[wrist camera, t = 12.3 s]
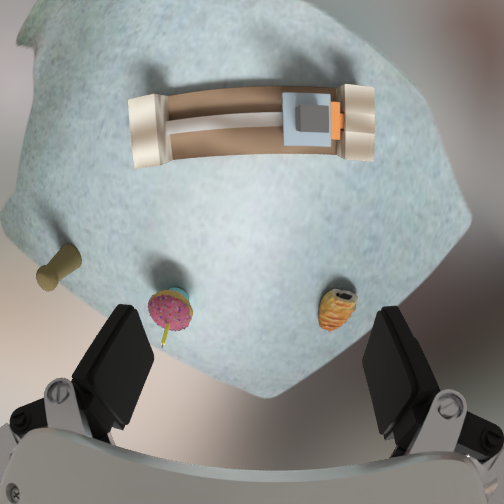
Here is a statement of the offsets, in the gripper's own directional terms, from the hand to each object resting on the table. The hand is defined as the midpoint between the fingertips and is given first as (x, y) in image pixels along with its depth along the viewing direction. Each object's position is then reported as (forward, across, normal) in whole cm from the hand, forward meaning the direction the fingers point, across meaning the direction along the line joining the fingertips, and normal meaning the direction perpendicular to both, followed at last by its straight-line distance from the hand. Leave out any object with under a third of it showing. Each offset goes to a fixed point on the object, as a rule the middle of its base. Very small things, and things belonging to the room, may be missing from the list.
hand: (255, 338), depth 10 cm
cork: (+34, +42, +14) cm, 56 cm away
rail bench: (+33, +2, -8) cm, 34 cm away
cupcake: (+34, +18, +23) cm, 44 cm away
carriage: (+31, -5, -8) cm, 33 cm away
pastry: (+34, -13, +25) cm, 44 cm away
